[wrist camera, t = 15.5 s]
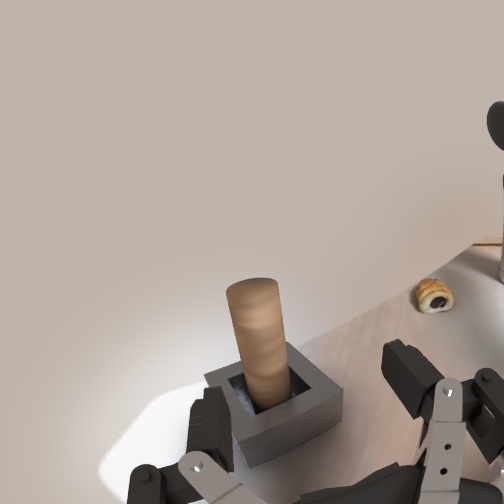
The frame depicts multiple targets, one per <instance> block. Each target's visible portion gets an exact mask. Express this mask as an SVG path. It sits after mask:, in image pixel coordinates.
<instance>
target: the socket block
mask: <svg viewBox="0 0 504 504" xmlns="http://www.w3.org/2000/svg"><path fill="white" fill-rule="evenodd" d="M286 350H287V358H288V366H289V374H290V383H291V392H292V399H290V400H288V401H286V402H284V403H282V404H280V405H278V406H275V407H273V408H271V409H269V410H267V411H264V412H262V413H260V414H257V415H255V414H254V410H253V406H252V402H251V398H250V394H249V390H248V386H247V382H246V378H245V374H244V370H243V366H242V362H241V361H239V362H236V363H234V364H231V365H229V366H226V367H223V368H220V369H218V370H215V371H212V372H209V373H206V374H204V377H205V379H206V382H207V384H208V387H216V386H221V388H222V390H223V393H224V396H225V398H226V401H227V403H228V406H229V409H230V413H231V428H232V437H233V439H234V441H235V443H236V445H237V447H238V449H239V450H240V452H241V454H242V456H243V458H244V459H245V461H246V463H247V465H248V466H249V468H251V467H253V466H256V465H258V464H261V463H263V462H265V461H268V460H270V459H272V458H274V457H277V456H279V455H281V454H283V453H285V452H287V451H289V450H291V449H293V448H295V447H297V446H299V445H301V444H303V443H305V442H307V441H308V440H310V439H312V438H314V437H316V436H317V435H319V434H321V433H323V432H324V431H326V430H328V429H330V428H331V427H333V426H334V425H336V424H338V423H339V422H341V420H342V403H343V389H342V388H341V387H339V386H338V385H337V384H336V383H335V382H333V381H332V380H331V379H330V378H329V377H328V376H326V375H325V374H324V373H323V372H322V371H321V370H319V369H318V368H317V367H316V366H315V365H314V364H312V363H311V362H310V361H309V360H308V359H307V358H306V357H304V356H303V355H302V354H301V353H300V352H299V351H298V350H296V349H295V348H294V347H293V346H292V345H291V344H289V342H286Z"/></svg>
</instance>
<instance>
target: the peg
mask: <svg viewBox="0 0 504 504" xmlns="http://www.w3.org/2000/svg"><path fill="white" fill-rule="evenodd" d="M226 295H227V300H228V305H229V309H230V314H231V318H232V322H233V327H234V331H235V336H236V340H237V344H238V349H239V353H240V358H241V362H242V366H243V370H244V374H245V378H246V382H247V386H248V390H249V394H250V398H251V402H252V406H253V410H254V414H255V415H257V414H260V413H262V412H264V411H267V410H269V409H271V408H273V407H275V406H278V405H280V404H282V403H284V402H286V401H288V400H290V399H292V392H291V383H290V374H289V366H288V358H287V350H286V342H285V334H284V327H283V318H282V311H281V303H280V296H279V289H278V283H277V281H275V280H273V279H270V278H252V279H247V280H243V281H240V282H237V283H235V284H233V285H231V286H230V287H229V288H228V289H227V290H226Z"/></svg>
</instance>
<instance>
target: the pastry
mask: <svg viewBox="0 0 504 504" xmlns="http://www.w3.org/2000/svg"><path fill="white" fill-rule="evenodd" d="M416 298H417V299H418V306H419V309H420V311H421V312H422V313H427V314H432V313H437V312H442V311H448V310H449V309H451V308H452V307H453V305H454V298H453V293H452V292H451V290H450V289H449V287H448V285H447V284H443V283H442V282H441V281H439V280H436V279H429V278H426V279H424V280H422V281H421V282H420V283H419V284H418V288H417V292H416Z"/></svg>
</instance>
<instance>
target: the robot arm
mask: <svg viewBox="0 0 504 504" xmlns="http://www.w3.org/2000/svg"><path fill="white" fill-rule="evenodd" d="M487 127H488V131H489V134H490V136H491V138H492V140H493V141H494V143H495V144H496V145H497V146H498V147H499V148H500V149H502V150H503V151H504V102H502V101H499V102H495V103H494V104H493V105H492V106H491V107H490V109H489V111H488V114H487ZM503 188H504V175H503ZM503 190H504V189H503ZM499 279H500V280H501V281H502V282H503V283H504V224H503V242H502V253H501V262H500V270H499ZM381 369H382V373H383V376H384V378H385V379H386V380H387V382H388V383H389V385H390V386H391V388H392V389H393V390H394V392H395V393H396V395H397V396H398V398H399V399H400V400H401V402H402V403H403V405H404V406H405V408H406V409H407V411H408V412H409V414H410V415H411V417H412V418H413V419H416V418H418V417H420V416H421V417H422V418H423V421H422V426H421V431H420V436H419V441H418V446H417V450H416V454H415V457H414V459H413V462H412V464H411V465H405V466H399V465H398V463H397V462H395V463H393V464H391V465H389V466H387V467H384V468H382V469H380V470H377V471H375V472H374V473H372V474H371V475H369V476H367V477H366V478H364V479H363V480H361V481H360V482H358V483H356V484H355V485H352V486H346V487H337V488H326V489H322V490H318V491H315V492H311V493H306V494H302V495H300V497H301V500H299V501H297V502H295V503H293V504H504V380H503V379H502V378H501V377H500V376H499V375H498V374H497V373H496V372H495V371H494V370H493V369H490V368H482V369H480V370H478V371H477V373H476V375H475V377H474V378H473V379H470V380H466V381H463V382H459V381H458V380H456V379H454V378H445V377H444V376H443V375H442V374H441V373H440V372H439V371H438V370H437V369H436V368H435V367H434V366H433V364H432V363H431V362H430V361H428V359H427V358H426V357H425V356H423V354H422V353H421V352H420V351H419V350H418V349H417V348H415V347H413V346H411V345H407V346H405V345H404V344H403V343H402V341H401V340H399V339H396V340H394V341H391V342H388V343H386V344H384V347H383V356H382V364H381ZM485 406H486V407H487V408H488V410H489V411H490V412H491V413H492V415H493V416H494V418H495V419H494V418H493V416H492V415H491V414H490V413H489V411H488V410H487V409H486V407H485ZM466 429H467V431H468V432H469V434H470V435H471V437H472V438H473V440H474V441H475V443H476V444H477V446H478V447H479V449H480V451H481V452H482V454H483V455H484V457H485V459H486V460H487V462H488V463H489V465H490V466H489V469H488V477H487V479H488V481H489V482H490V483H485V482H480V481H475V480H470V479H466V478H462V477H461V470H462V464H463V456H464V447H465V435H466ZM228 472H234V464H233V447H232V428H231V413H230V409H229V406H228V403H227V401H226V398H225V396H224V393H223V390H222V388H221V386H216V387H208V388H204V397H203V399H197V400H195V402H194V403H193V405H192V407H191V409H190V418H189V428H188V438H187V449H186V453H185V455H183V456H182V457H181V459H180V460H179V462H177V463H176V464H173V465H170V466H166V467H162V468H159V469H157V468H156V467H155V466H153V465H150V464H143V465H140V466H138V467H136V468H135V469H134V470H133V471H132V473H131V476H130V482H129V490H128V498H127V504H188V503H191V502H195V501H198V500H202V499H205V500H206V501H207V502H208V503H209V504H268V503H267V502H265V501H264V500H263V499H261V498H260V497H259V496H257V495H256V494H255V493H254V492H252V491H251V490H250V489H248V488H247V487H246V486H244V485H243V484H240V483H238V482H237V481H236V480H235V479H234V478H232V477H231V476H230V475H229V474H228Z"/></svg>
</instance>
